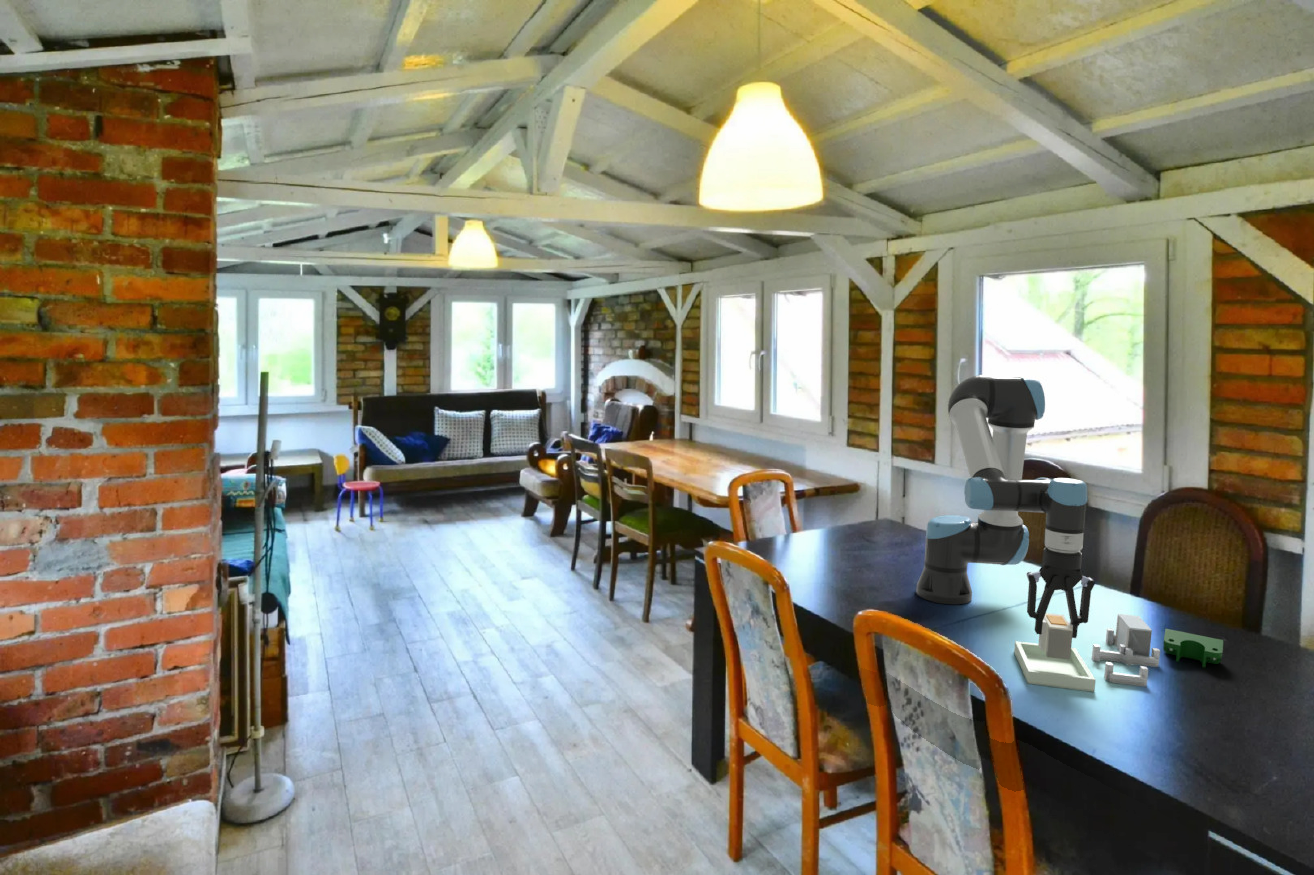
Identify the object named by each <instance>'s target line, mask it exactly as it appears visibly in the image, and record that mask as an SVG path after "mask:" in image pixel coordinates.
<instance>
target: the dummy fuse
mask: <svg viewBox="0 0 1314 875" xmlns="http://www.w3.org/2000/svg"><path fill="white" fill-rule="evenodd" d="M1116 620H1117V621H1116V627H1115V628H1116V629H1115V634H1116V637H1115V643H1114V646H1115V647H1116V648H1117V650H1118V651H1119V646H1120V644H1121V645H1126V646H1127V648H1131V649H1132V650H1133V655H1141V656H1150V654H1151V652H1150V650H1151V644H1152V643H1151V642H1152V635H1153V632H1152V631H1153V630H1152V629H1151V628H1150V626H1149V625H1148V624H1147V623H1146V622H1145V621H1144V619H1142V617H1141V616H1139V615H1131V614H1130V615H1129V614H1123V613H1122V614H1119V613H1118V614H1117V619H1116Z"/></svg>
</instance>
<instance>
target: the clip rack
mask: <svg viewBox="0 0 1314 875" xmlns="http://www.w3.org/2000/svg"><path fill="white" fill-rule="evenodd" d="M1115 637H1116V633H1115V630H1114V629H1113V628H1106V636H1105V643H1106V644H1107V645H1111V646H1113V645H1114V644H1115ZM1101 648H1102V647H1101V646H1100V644H1095V643H1093V644H1092V652H1091V660H1092V661H1093V662H1100V660H1101V661H1105V666H1104V676H1103V678H1104V680H1105V681H1108V682H1109V683H1112V684H1120V685H1126V686H1127V685H1128V686H1135V687H1136V686H1137V687H1144V688H1145V687H1146V688H1147V686H1148V678H1149V668H1148V667H1151V668H1159V664H1160V656H1161V650H1160V649H1159V648H1156V647H1155V648H1154V647H1152V648H1151V653H1150V654H1151V656H1150V655H1149V656H1141V655H1133V650H1132V649H1131V648H1127V646H1126V645H1121V644H1120V646H1119V650H1118V651H1111V650H1105V649H1101ZM1113 662H1119V663H1123V664H1124V665H1125V666H1132V665H1134V666H1135V665H1136V666H1139V670H1138V671H1139V672H1138V674H1131V673H1121V672H1115V671H1114V664H1113Z"/></svg>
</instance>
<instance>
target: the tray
mask: <svg viewBox="0 0 1314 875" xmlns="http://www.w3.org/2000/svg"><path fill="white" fill-rule="evenodd" d="M1038 644H1039V643H1033V642H1025V641H1017V640H1015V641H1014V651H1013V652H1014V655H1015V658H1016V660H1017V662H1018V665H1019V667H1020V670H1021V671H1022V674H1023V676H1024V678H1025V681H1026V683H1027V684H1028V685H1029V684H1030V685H1036V686H1037V685H1038V686H1043V687H1052V688H1060V689H1067V690H1075V691H1083V692H1089V693H1090V692H1091V693H1095V688H1096V678H1095V677H1094V675H1093V674H1092V673H1093V672H1092V671H1091V670H1090V669H1089V667H1088V666H1087V663H1086V662H1085V661H1084V659H1083V658H1082V656H1081V655H1080V652H1079V651H1078V650H1077V648H1076V647H1071V656H1070V660H1067V659H1059V658H1051V657H1047V656H1046V654H1045V652H1044V650H1041V649H1040V647H1039V646H1038Z"/></svg>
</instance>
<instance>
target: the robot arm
mask: <svg viewBox="0 0 1314 875" xmlns="http://www.w3.org/2000/svg"><path fill="white" fill-rule="evenodd" d="M1045 410H1046V397H1045V392H1044V389H1043V385H1042V383H1041V382H1040V381H1039V379H1037V378H1036V377H1034V376H1026V375H986V374H985V375H984V374H978V375H973V376H970V377H968V378H966V379H964V380H963V381H961V382H960V383H959V384H958V385H957V386H956V387H955V388H954V389H953V391H952V392H951V394H950V397H949V399H948V404H947V413H948V417H949V420H950V422H951V423H952V424H953V425H954V426H956V430H957V431H956V432H957V434H958V437H959V441H960V445H961V448H962V452H963V456H964V459H965V461H966V466H967V470H968V473H969V478H967V479H966V481H965V485H964V490H963V492H964V502H965V504H966V506H967V507H968V508H970V509H973V510H980V511H981V510H982V511H981V512H980V513H979V514H978V516H977V522H976V521H972V520H971V518H970V517H968V516H966V515H958V514H945V515H940V516H936V517H933V518H931V519H930V520H929V521H928V522H927V525H926V530H925V532H926V533H924V534H925V545H924V546H925V548H924V565H923V569H922V572H921V573H920V574H921V575H920V576H919V579H918V581H917V583H916V589H915V590H916V591H915V593H916V595H917V596H919V597H920V598H922V599H924V600H926V601H929V602H933V603H938V604H943V605H944V604H945V605H965V604H968V603H970V602H971V601H972V598H973V591H972V590H973V589H972V586H971V583H970V580H969V575H968V565H969V564H970V563H971V564H986V565H987V564H988V565H989V564H991V565H1000V566H1006V565H1009V566H1011V565H1013V566H1014V565H1015V566H1017V565H1019V564H1020V563H1021V562H1022V561H1024V559H1025V557H1026V555H1027V553H1028V549H1029V545H1030V544H1029V543H1030V539H1029V536H1030V532H1029V530H1028V527H1027V526H1026V525H1024V520H1023V519H1022V518H1021V516H1019V512H1022V513H1023V512H1026V513H1044V514H1045V515H1046V516H1045V526H1044V527H1045V529H1044V540H1043V545H1044V546H1045V547H1044V548H1043V552H1042V553H1043V554H1042V565H1041V566H1040V569H1039V570H1038V571H1036V572H1031V571H1028V572H1027V573H1026V577H1027V580H1028V592H1027V603H1026V604H1027V606H1026V610H1027V611H1026V612H1027V614H1028V616H1029V618H1031V619H1034V620H1035V623H1034V631H1035V634H1036V635H1038V643H1037V644H1038V646H1039V647H1040V649H1041V650H1044V649H1045V638H1046V626H1047V622H1046V620H1045V619H1044V617H1045V614H1046V613H1047V611H1048V608H1049V605H1050V602H1051V600H1052V597H1053V595H1054V593H1055V591H1059V590H1061V591H1064V592H1065V597H1066V604H1067V609H1068V615H1069V620H1067V622H1068V623H1069V625H1070V626H1071V627H1072V629H1073V634H1072V639H1077V637H1078V628H1079V626H1080V624H1087V623H1088V622H1089V616H1090V615H1089V614H1090V608H1091V607H1090V604H1091V595H1092V590H1093V589H1094V586H1095V584H1096V582H1095V581H1094V579H1093V578H1092V577H1090V576H1089V577H1086V576H1085V575H1083V573H1082V570H1081V568H1082V559H1083V558H1082V556H1083V552H1081V551H1082V549H1083V546H1084V545H1083V544H1084V534H1085V523H1086V521H1085V520H1086V513H1087V503H1088V499H1089V498H1088V485H1087V483H1086V482H1084V481H1083V480H1081V479H1076V478H1069V477H1057V478H1050V477H1049V478H1048V477H1037V478H1035V479H1023V472H1024V464H1025V454H1026V448H1027V447H1026V446H1027V437H1028V436H1027V435H1028V432H1030V430H1032V429H1034V428H1035V424H1036V421H1038V420H1041V419H1042V418H1043V417H1044V414H1045ZM991 429H992V432H991ZM968 563H969V564H968ZM1040 578H1041V579H1042V580H1043V581H1044V582H1045V584H1044V589H1043V591H1042V596H1041V598H1040V601H1039V603H1038V606H1036V605H1037V604H1036V603H1037V591H1038V586H1037V583H1038V582H1040ZM1078 583H1080V585H1081V586H1082V587H1081V596H1080V605H1079V613H1078V611H1077V607H1076V606H1077V605H1076V604H1077V603H1076V598H1075V592H1074V588H1075V587H1076V585H1077V584H1078ZM1036 607H1037V609H1036ZM1078 614H1079V615H1078Z"/></svg>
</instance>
